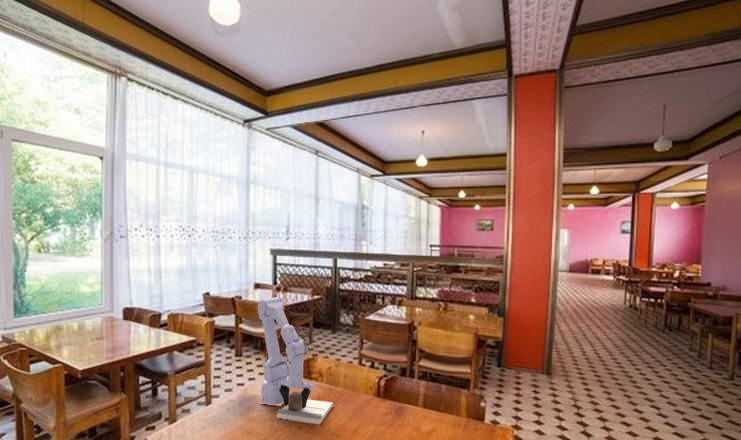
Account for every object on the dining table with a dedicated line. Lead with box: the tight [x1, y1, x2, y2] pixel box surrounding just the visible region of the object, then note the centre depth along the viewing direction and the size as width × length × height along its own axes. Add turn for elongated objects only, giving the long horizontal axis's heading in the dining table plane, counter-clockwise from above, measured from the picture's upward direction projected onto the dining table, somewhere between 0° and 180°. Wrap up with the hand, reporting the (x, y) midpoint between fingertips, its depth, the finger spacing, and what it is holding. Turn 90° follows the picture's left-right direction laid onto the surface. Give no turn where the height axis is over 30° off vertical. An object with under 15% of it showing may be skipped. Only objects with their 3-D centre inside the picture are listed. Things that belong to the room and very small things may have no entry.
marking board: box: [276, 398, 334, 425], centre depth 134 cm, size 18×14×2 cm
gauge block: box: [288, 391, 302, 411], centre depth 133 cm, size 4×4×6 cm
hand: (295, 406), depth 133 cm, fingers open, 7 cm apart
